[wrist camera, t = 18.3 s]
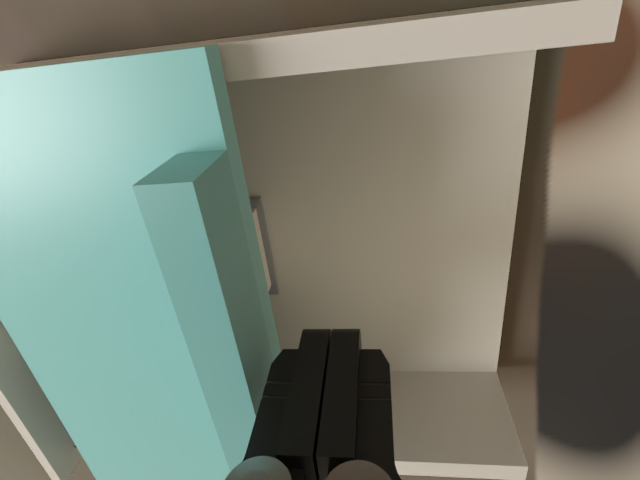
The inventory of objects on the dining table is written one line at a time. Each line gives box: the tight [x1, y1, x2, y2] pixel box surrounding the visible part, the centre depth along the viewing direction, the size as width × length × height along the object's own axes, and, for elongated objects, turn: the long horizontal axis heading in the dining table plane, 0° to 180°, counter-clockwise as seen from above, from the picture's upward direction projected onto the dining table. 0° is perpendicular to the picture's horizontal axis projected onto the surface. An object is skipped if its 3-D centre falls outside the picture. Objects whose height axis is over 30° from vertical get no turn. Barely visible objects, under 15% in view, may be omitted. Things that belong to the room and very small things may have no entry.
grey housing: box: [0, 0, 623, 480], centre depth 15 cm, size 18×15×6 cm
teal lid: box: [0, 44, 281, 480], centre depth 12 cm, size 8×15×3 cm, turn 6°
